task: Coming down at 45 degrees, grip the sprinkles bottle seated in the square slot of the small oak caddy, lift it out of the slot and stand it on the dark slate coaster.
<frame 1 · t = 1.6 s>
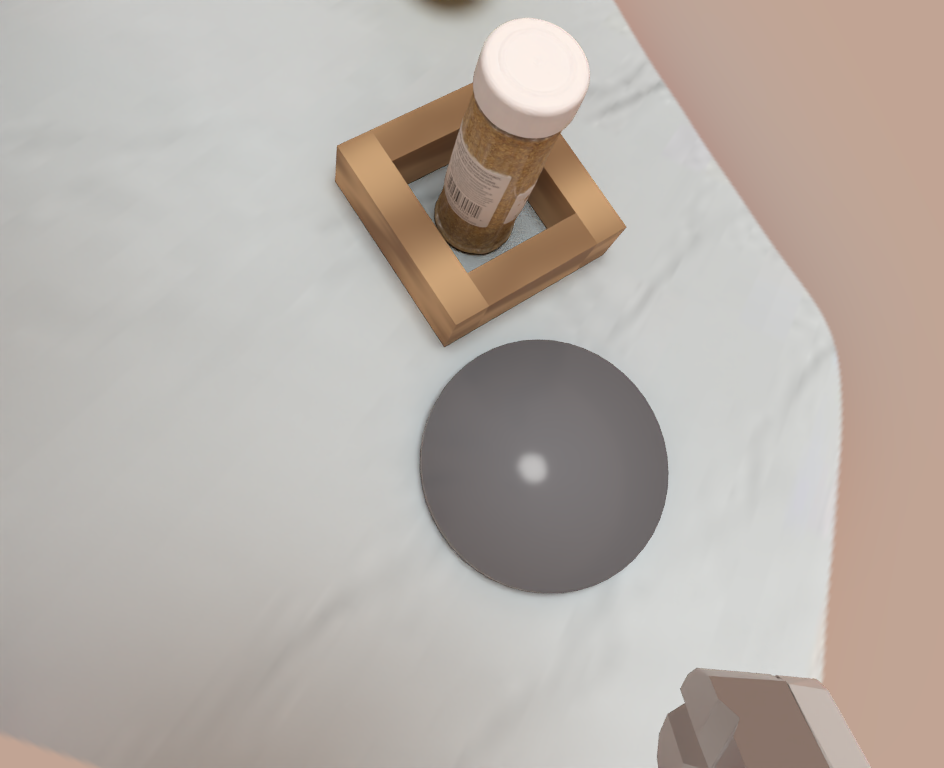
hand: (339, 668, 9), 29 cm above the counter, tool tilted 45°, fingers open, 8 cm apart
oak caddy: (472, 218, 43), on the counter
slate coaster: (543, 464, 40), on the counter
sprinkles bottle: (471, 220, 43), resting in oak caddy
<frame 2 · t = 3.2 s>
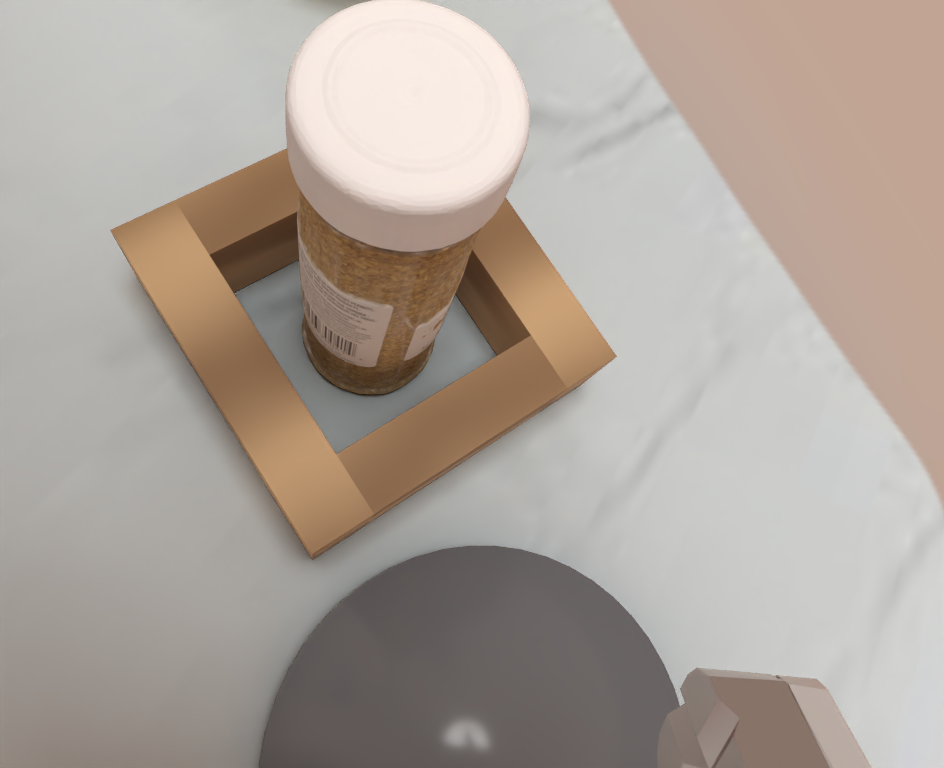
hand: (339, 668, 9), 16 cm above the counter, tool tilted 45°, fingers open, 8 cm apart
oak caddy: (367, 333, 27), on the counter
slate coaster: (478, 763, 24), on the counter
sprinkles bottle: (367, 335, 27), resting in oak caddy
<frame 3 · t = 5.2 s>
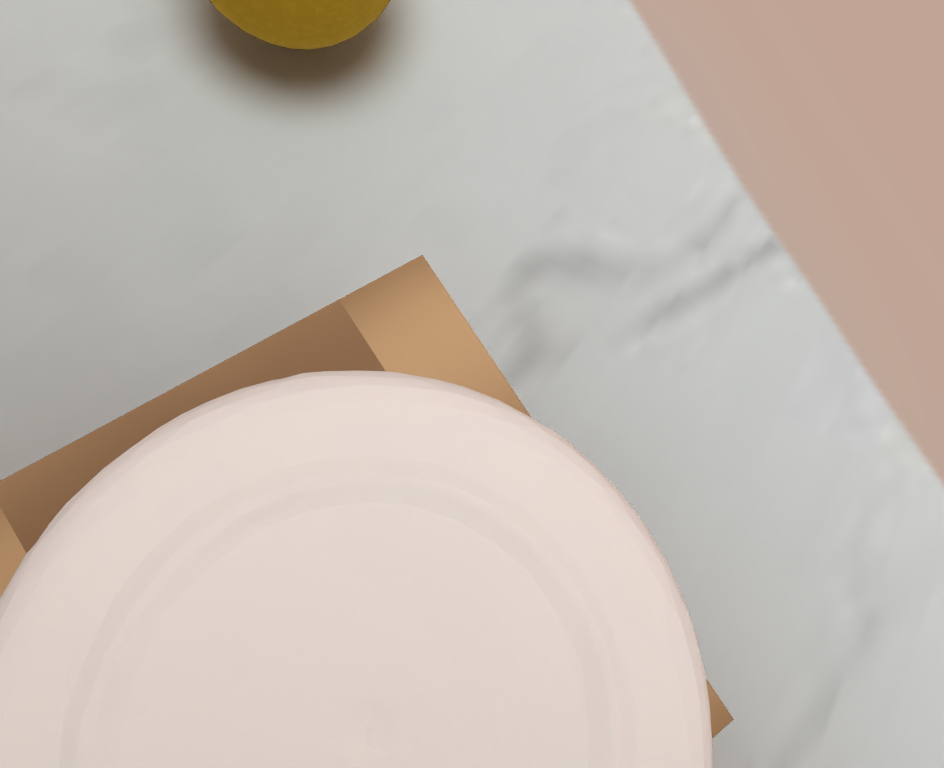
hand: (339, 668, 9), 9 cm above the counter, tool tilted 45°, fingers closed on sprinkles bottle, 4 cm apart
oak caddy: (329, 632, 17), on the counter
lemon: (298, 29, 21), on the counter
sprinkles bottle: (329, 632, 17), resting in oak caddy, touching gripper
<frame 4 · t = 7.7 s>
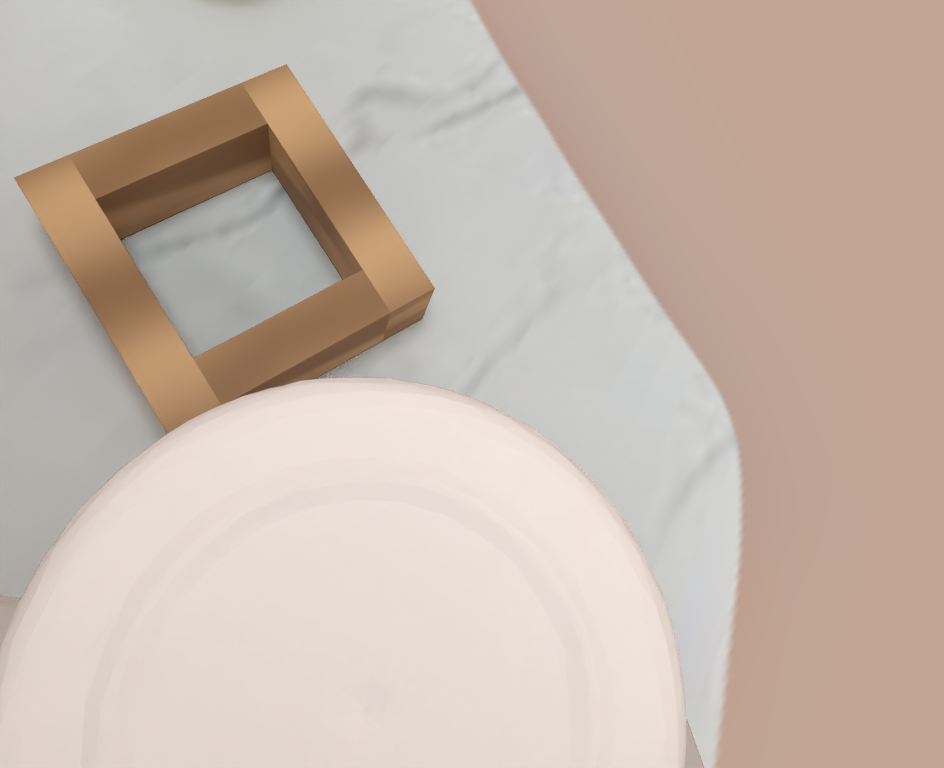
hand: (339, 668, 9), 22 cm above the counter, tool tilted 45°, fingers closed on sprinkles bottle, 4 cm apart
oak caddy: (240, 271, 32), on the counter
sprinkles bottle: (329, 631, 18), point 12 cm above the counter, touching gripper
when the fingers open (10 cm above the counter, at t = 10.2 s): sprinkles bottle stays where it is, resting on slate coaster.
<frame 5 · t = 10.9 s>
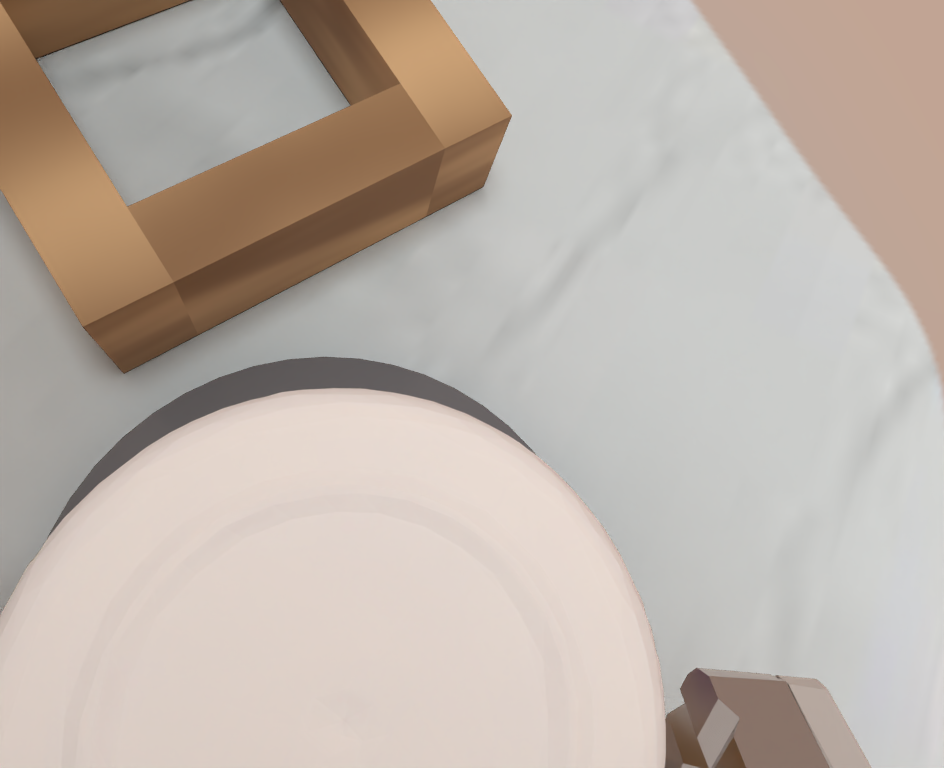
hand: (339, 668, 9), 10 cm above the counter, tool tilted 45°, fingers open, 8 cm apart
oak caddy: (213, 112, 21), on the counter
slate coaster: (328, 628, 18), on the counter
sprinkles bottle: (326, 630, 18), point 1 cm above the counter, touching slate coaster
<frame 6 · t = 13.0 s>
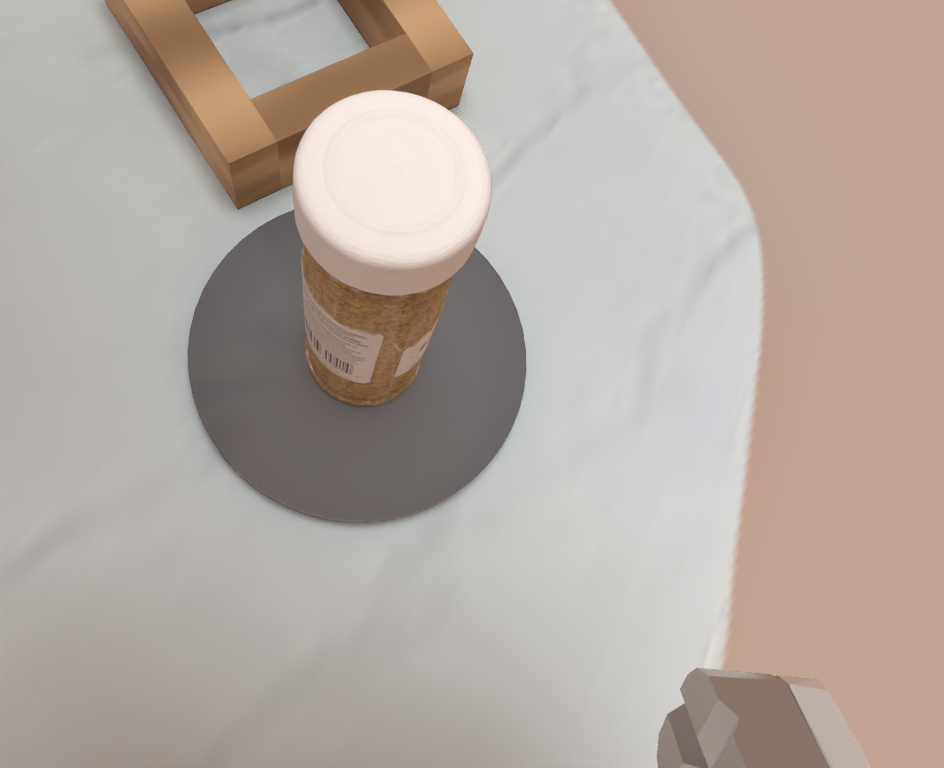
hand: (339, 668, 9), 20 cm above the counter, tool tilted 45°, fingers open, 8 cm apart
oak caddy: (287, 55, 34), on the counter
slate coaster: (362, 358, 31), on the counter
sprinkles bottle: (362, 352, 30), point 1 cm above the counter, touching slate coaster
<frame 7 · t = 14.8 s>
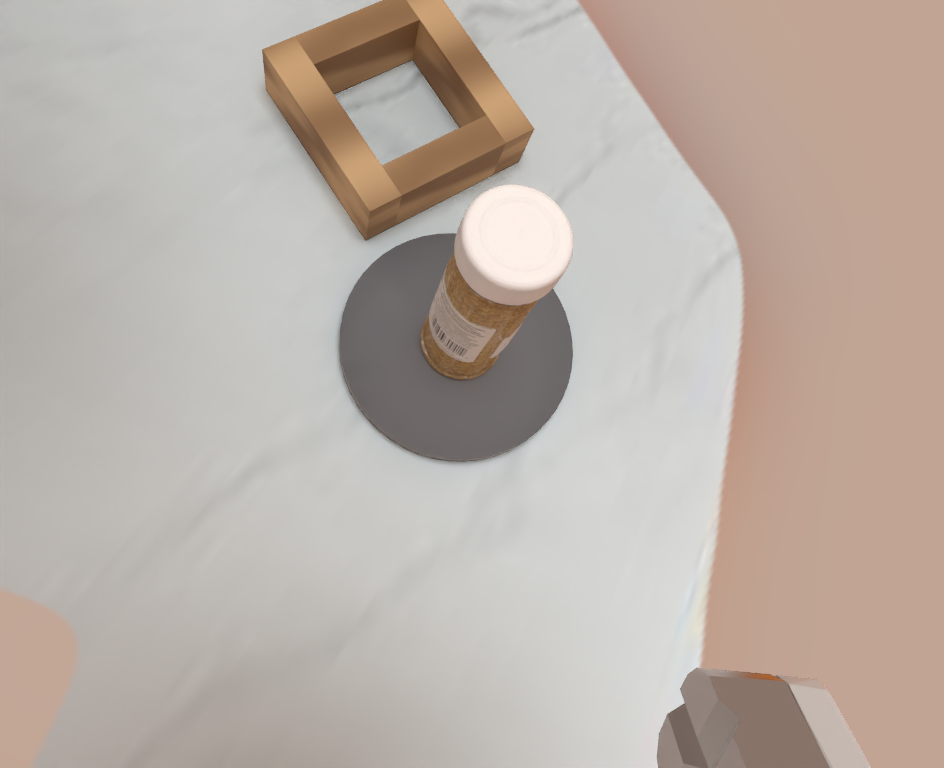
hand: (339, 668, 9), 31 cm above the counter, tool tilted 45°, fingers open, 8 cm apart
oak caddy: (395, 126, 46), on the counter
slate coaster: (456, 347, 43), on the counter
sprinkles bottle: (458, 342, 43), point 1 cm above the counter, touching slate coaster
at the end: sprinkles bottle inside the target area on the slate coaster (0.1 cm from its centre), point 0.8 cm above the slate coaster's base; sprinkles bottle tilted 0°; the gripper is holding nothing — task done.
